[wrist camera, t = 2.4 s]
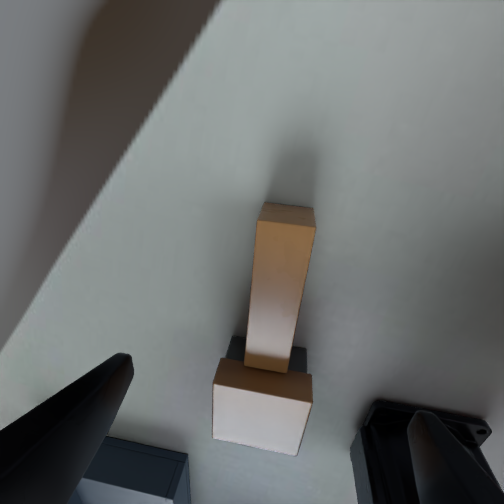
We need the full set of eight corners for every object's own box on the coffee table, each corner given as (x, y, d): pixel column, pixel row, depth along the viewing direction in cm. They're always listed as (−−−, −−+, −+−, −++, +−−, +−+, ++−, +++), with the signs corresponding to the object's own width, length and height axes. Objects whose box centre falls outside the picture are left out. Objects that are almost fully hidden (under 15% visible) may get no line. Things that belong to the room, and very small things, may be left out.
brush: (235, 198, 12) (213, 226, 9) (344, 211, 12) (359, 246, 9) (226, 385, 18) (211, 438, 15) (298, 399, 18) (297, 457, 15)
